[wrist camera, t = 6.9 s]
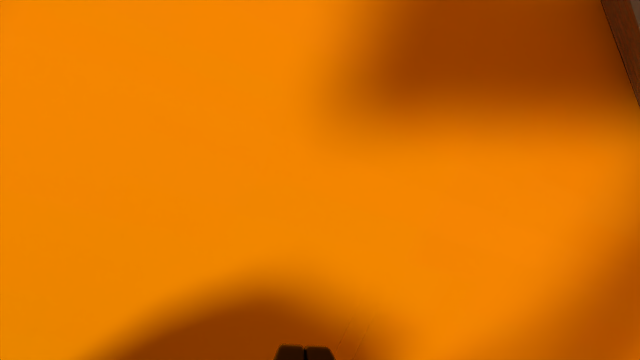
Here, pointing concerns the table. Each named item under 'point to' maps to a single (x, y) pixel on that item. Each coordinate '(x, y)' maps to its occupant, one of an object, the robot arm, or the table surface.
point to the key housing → (626, 35)
